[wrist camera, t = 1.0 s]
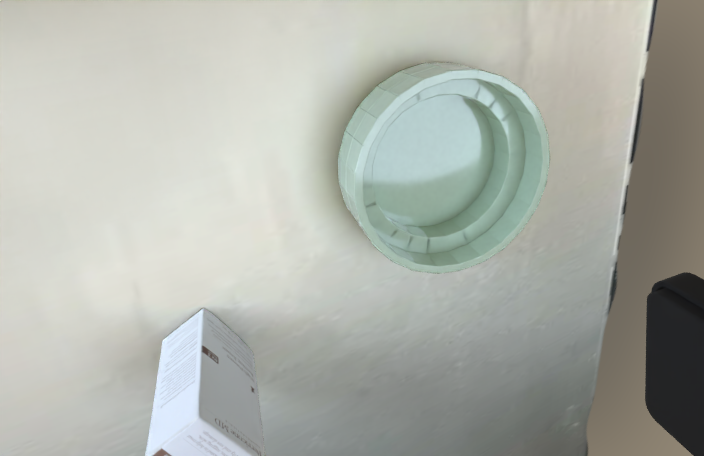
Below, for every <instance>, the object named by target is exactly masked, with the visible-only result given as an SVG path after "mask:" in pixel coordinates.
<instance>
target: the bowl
mask: <svg viewBox="0 0 704 456" xmlns="http://www.w3.org/2000/svg"><path fill="white" fill-rule="evenodd" d="M549 163H550V151H549V141H548V133H547V130H546V127H545V124H544V122H543V119H542V116H541V114H540V111H539V109H538V108H537V107H536V105H535V104H534V103H533V101H532V100H531V99H530V98H529V96H528V95H527V94H526V92H525V91H524V90H523V89H521V88H520V87H518V86H517V85H515V84H514V83H513V82H511V81H510V80H508V79H507V78H505V77H503V76H501V75H497V74H494V73H490V72H487V71H483V70H480V69H475V68H471V67H467V66H463V65H459V64H455V63H449V62H439V63H423V64H420V65H416V66H413V67H410V68H407V69H404V70H401V71H399V72H397V73H396V74H394V75H393V76H391V77H389V78H388V79H386V80H385V81H383V82H382V83H380V84H379V85H377V87H375V88H374V89H373V91H372V92H371V93H370V94H369V95H368V96H367V97H366V98H365V99H364V100H363V101H362V102H361V104H360V105H359V107H357V109H356V111H355V113H354V114H353V116H352V118H351V120H350V122H349V124H348V125H347V127H346V129H345V132H344V136H343V140H342V144H341V147H340V151H339V156H338V178H339V185H340V188H341V192H342V195H343V199H344V202H345V205H346V206H347V208H348V210H349V211H350V213H351V214H352V216H353V217H354V219H355V221H356V222H357V224H358V225H359V226H360V228H361V229H362V230H363V232H364V233H365V234H366V236H367V237H368V239H369V240H370V241H371V243H372V244H373V245H374V246H375V247H376V248H377V249H378V250H379V251H380V252H381V253H383V254H384V255H385V256H386V257H387V258H388V259H390V260H391V261H392V262H394V263H396V264H399V265H401V266H403V267H406V268H408V269H410V270H414V271H419V272H427V273H434V274H436V273H437V274H440V273H447V272H455V271H460V270H464V269H466V268H469V267H471V266H474V265H477V264H479V263H482V262H484V261H486V260H487V259H489V258H490V257H492V256H493V255H495V254H496V253H498V252H499V251H501V250H503V249H504V248H505V247H506V246H507V245H508V244H509V243H510V242H511V241H512V240H513V239H514V238H515V237H516V236H517V235H518V234H519V233H520V232H521V231H522V229H523V228H524V227H525V225H526V224H527V222H528V221H529V219H530V218H531V216H532V215H533V213H534V212H535V210H536V208H537V207H538V204H539V202H540V199H541V197H542V194H543V191H544V189H545V186H546V183H547V176H548V169H549Z"/></svg>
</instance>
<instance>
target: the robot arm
mask: <svg viewBox="0 0 704 456" xmlns="http://www.w3.org/2000/svg"><path fill="white" fill-rule="evenodd" d="M645 391H646V393H645V401H646V406H647V409H648V411H649V413H650V414H651V416H652V417H653V418H654V419H655V421H656V422H657V423H659V424H660V425H661V426H662V427H663V428H664V429H665V430H666V431H667V432H668V433H669V434H671V435H672V436H673V437H674V438H675V439H676V440H677V441H678V442H679V443H681V445H683V446H684V447H685V448H686V449H687V450H688V451H689V452H690V453H691V454H692V455H694V456H704V280H703V279H701V278H700V277H698V276H696V275H694V274H691V273H681V274H678V275H676V276H673V277H671V278H667V279H665V280H662V281H659V282H657V283H655V284H654V286H653V288H652V292H651V293H650V294H649V295H648V297H647V328H646V390H645Z"/></svg>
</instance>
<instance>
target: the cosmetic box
mask: <svg viewBox="0 0 704 456" xmlns="http://www.w3.org/2000/svg"><path fill="white" fill-rule="evenodd" d="M145 456H266V455H265V448H264V438H263V430H262V421H261V413H260V405H259V396H258V388H257V379H256V371H255V362H254V354H253V352H252V351H251V349H250V348H249V347H248V346H247V345H246V344H245V343H244V342H243V341H242V340H241V339H240V338H239V337H238V336H237V335H236V334H235V333H234V332H233V331H232V330H230V329H229V328H228V327H227V326H226V325H225V324H224V323H223V322H221V321H220V320H219V319H218V318H217V317H216V316H214V315H213V314H212V313H211V312H209V311H208V310H206V309H202V310H200V311H199V312H198V313H196V314H195V315H194V316H192V317H191V318H190V319H188V320H187V321H186V322H185V323H183V324H182V325H181V326H180V327H178V328H177V329H176V330H175V331H174V332H172V333H171V334H170V335H169V336H167V337H166V338H165V339H164V340H163V342H162V350H161V356H160V363H159V370H158V377H157V383H156V390H155V397H154V403H153V410H152V417H151V424H150V430H149V436H148V443H147V449H146V455H145Z"/></svg>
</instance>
